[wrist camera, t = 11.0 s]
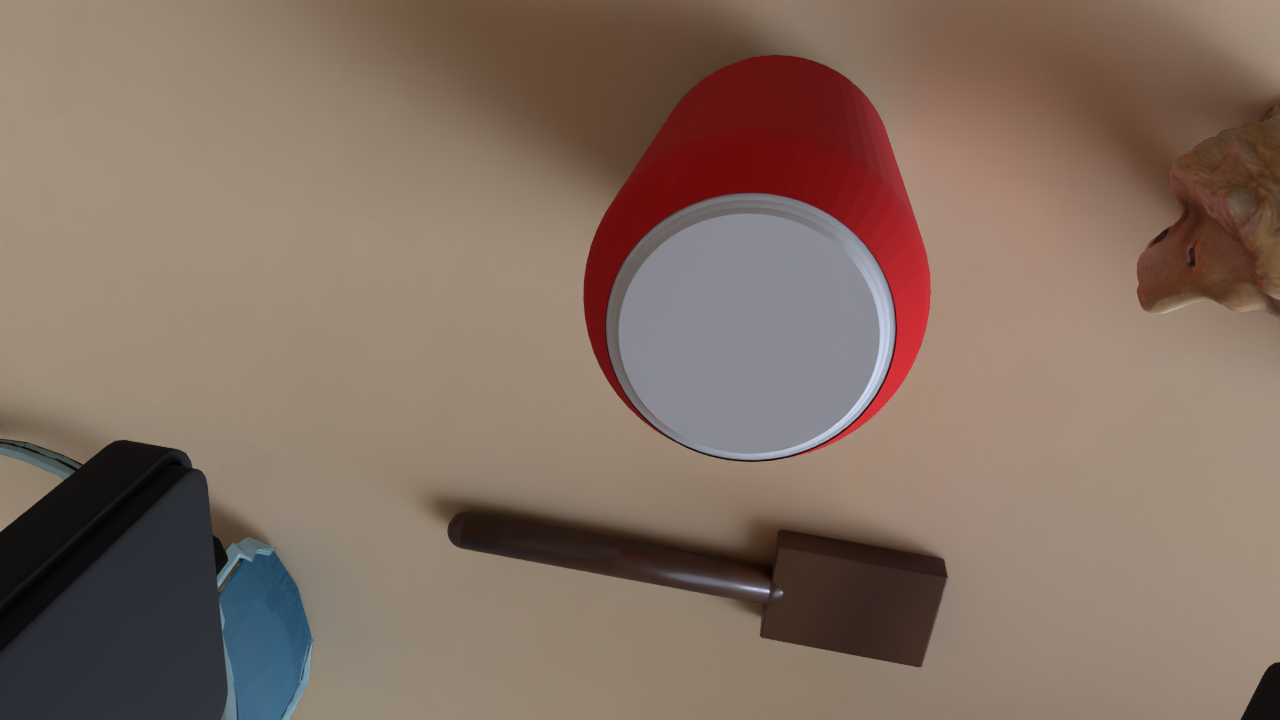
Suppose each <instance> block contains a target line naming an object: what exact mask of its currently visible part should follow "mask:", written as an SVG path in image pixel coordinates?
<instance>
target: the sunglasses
mask: <svg viewBox="0 0 1280 720" xmlns="http://www.w3.org/2000/svg"><path fill="white" fill-rule="evenodd" d="M0 454H2V455H5V456H9V457H12V458H16V459H19V460H22V461H25V462H28V463H30V464H33V465H35V466H38V467H40V468H42V469H44V470H46V471H48V472H51V473H53V474H55V475H57V476H59V477H61V478H63V479H64V480H65V479H66V478H68V477H69V476H70V475H71V474H73V473H74V472H75V471H76V470H78V469H79V468H80V467H81V466H83V464H81V463H79V462H77V461H75V460H73V459H70V458H68V457H66V456H64V455H62V454H59V453H56V452H53V451H51V450H48V449H45V448H42V447H39V446H36V445H33V444H31V443H28V442H22V441H14V440H7V439H0ZM212 536H213V546H214V555H215V565H216V575H217V585H218V588H219V587H220V585H221V584H222V583H223V581H224V580H225V578H226V577H227V575H228V574H229V572H230V571H231V570H232V568H233V567H234V565H235V564H236V562H238V563H239V565H238V566H237V568H236V569H235V571H234V572H233V574H232V575H231V576H230V578H229V579H228V581H227V582H226V584H225V585H224V587H223V588H222V590H221V591H220V593H219V594H218V595H219V605H220V614H221V624H222V634H223V644H224V654H225V664H226V674H227V683H228V696H227V702H226V706H225V710H224V713H223V716H222V718H221V720H289V719H290V718H291V716H292V714H293V712H294V710H295V708H296V706H297V704H298V702H299V701H300V699H301V697H302V695H303V693H304V691H305V689H306V687H307V685H308V678H309V670H310V662H311V654H312V646H313V639H311V633H310V630H309V626H308V623H307V619H306V616H305V612H304V609H303V605H302V602H301V598H300V595H299V591H298V588H297V586H296V584H295V583H294V581H293V580H292V578H291V577H290V575H289V573H288V572H287V570H286V569H285V567H284V566H283V564H282V563H281V561H280V560H279V558H278V557H277V555H276V553H275V552H274V548H275V547H273V546H270V545H268V544H265V543H262V542H260V541H257V540H254V539H252V538H249V537H247V538H245V539H244V540H242V541H241V542H239V543H237V544H235V543H232V544H230V545H229V546H228V547H227V548H226V549H224V548H223V546H222V544H221V542H220V540H219V539H218V538H216V537H215V536H214V535H212Z"/></svg>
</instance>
